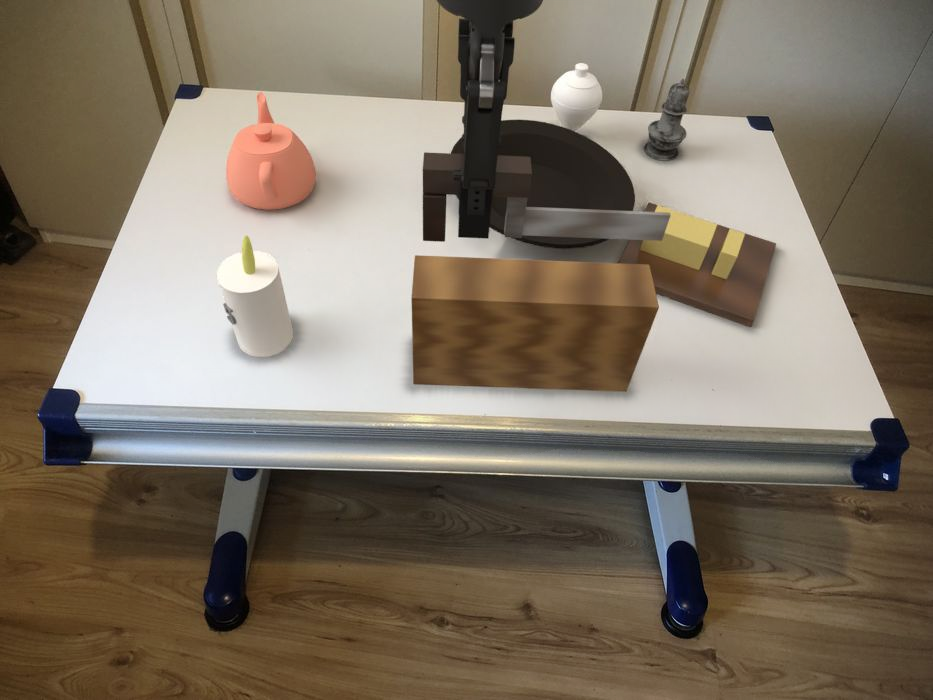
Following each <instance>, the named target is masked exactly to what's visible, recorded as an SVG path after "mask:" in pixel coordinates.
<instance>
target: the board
mask: <svg viewBox="0 0 933 700" xmlns="http://www.w3.org/2000/svg"><path fill="white" fill-rule="evenodd" d="M658 205H659V204H656V203H653V202H647V205H646V206H645V208H644V210H643V212H655V210H656V208H657V206H658ZM673 210H674V211H677V212H680V213H683V212H682V211H678V210H675V209H673ZM683 214H685V213H683ZM704 220H705V219H704ZM705 221H708V222H711V223H714V224H717V227H716V230H715V232H714V235H713V238H712V240H711V243H710V246H709V248H708V250H707V253H706V255H705V257H704V260H703V262H702V264H701V267H700V269H699V270H697V269H694V268H691V267H688V266H685V265H682V264H679V263H676V262H673V261H670V260H668V259H665V258H662V257H659V256H656V255H653V254H650V253H647V252H644V251H641V250H640V247H641V244H642V241H643V240H629V239H628V242H627V244H626V246H625V248H624V250H623V252H622V254H621V256H620V258H619V260H618V262H617V263H620V264H645V265H649V266H650V270H651V275H652V279H653V283H654V287H655V292H656V295H659V296H663V297H665V298H668V299H671V300H674V301H676V302H680V303H682V304H685V305H687V306H690V307H692V308H696V309H699V310H702V311H705V312H707V313H710V314H713V315H715V316H718V317H721V318H724V319H727V320H730V321H732V322H735V323H738V324H741V325H744V326H747V327H749V328H750V327H751V328H752V325H753V324H754V322H755V319H756V317H757V313H758V309H759V306H760V303H761V298H762V295H763V292H764V290H765V289H764V288H765V285H766V281H767V278H768V274H769V271H770V267H771V264H772V260H773V258H774V255H775V254H774V253H775V250H776V247H777V243H776V242H774V241H770V240H768V239H765V238H761V237H758V236H756V235H755V236H754V235H751V234H748V233H745V232H743V231H739V230H736V229H735V230H736V231H739V232H742V233H745V236H744V239H743V242H742V245H741V248H740V251H739V254H738V257H737V259H736V261H735V263H734V265H733V267H732V269H731V271H730V274H729V276H728V278H727V279H723V278H720V277H718V276H715V275H712V271H713V268H714V266H715V263H716V260H717V257H718V255H719V252H720V250H721V247H722V245H723V243H724V241H725V238H726V236H727V234H728V232H729V229H731V228H730V227H727V226H724V225H721V224H719V223H715V222H712V221H709V220H705Z"/></svg>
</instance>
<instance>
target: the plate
mask: <svg viewBox="0 0 933 700" xmlns="http://www.w3.org/2000/svg"><path fill="white" fill-rule="evenodd" d="M500 137H501V143H500V144H501V146H500V147H498V156H521V157H530V159H531V170H532V176H531V183H530V190H529V197H528V198H527V205H526V207H542V208H567V209H591V210H616V211H634V209H635V205H636V204H635V203H636V194H635V193H636V192H635V188H634V185H633V181H632V179H631V177H630V175H629V174H628V172H627V170H626V169H625V167H624V166H623V165H622V164H621V162H619V160H618V159H617V157H615V156H614V155H613V154H612V153H610V152H609V150H607V149H606V148H604V147H603V146H601V144H599V143H598V142H596V141H594V140H593V139H592V138H589V137H588V136H586V135H584V134H581V133H580V132H577V131H572V130H570V129H567V128H564V127H563V126H562V125H559V124H554V123H549V122H545V121H539V120H533V119H532V120H531V119H501V127H500ZM461 149H464V146H463V141H462V136H461V137H460V138H459V139H458V140H457V141H456V142H455V144H454V146H453V147H452V149H451V150H450V153H451V154H461ZM455 196H456V198H457V199H458V200H459V195H455ZM507 199H508V197H494V196H492V205H491V216H490V227H489V229H491V230H493V231H495V232H497V233H498V234H501V235H503V236H504V226H505V217H506V208H507ZM511 239H512V240H514V241H517V242H520V243H524V244H527V245H531V246H532V245H533V246H536V247H540V248H548V249H555V250H557V249H561V250H571V249H583V248H588V247H593V246H596V245H599V244H602V243H604V242H607V241H608V240H610V239H604V238H578V237H552V236H527V235H522V238H511Z"/></svg>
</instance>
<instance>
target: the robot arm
mask: <svg viewBox="0 0 933 700" xmlns="http://www.w3.org/2000/svg"><path fill="white" fill-rule="evenodd" d="M436 2H437V3H438V4H439V5H440V7H441V8H443V9H444V10H445V11H447V12H448V13H450V14H452V15H453V16H456V17H461V18H458V34H457V35H458V36H457V37H458V39H457V41H458V42H457V61H458V63H459V64H460V68H459V69H460V72H459V73H460V79H459V82H460V83H459V96H460V98H461V99H462V100H463V101H464V105H463V107H464V108H463V115H462V117H461V123H462V125H463V133H462V135H461V137H462V141H463V146H464V149H461V154H464V162H463V169H462V170H456V169H454V180H453V181H461V182H460V195H459V199H458V226H457V228H458V230H457V238H461V239H462V238H465V239H489V237H490V216H491V205H492V194H493V190H494V188H495V185H496V178H495V175H496V165H497V156H498V147H500V146H501V144H500V143H501V137H500V127H501V121H502V116H503V111H504V110H503V109H504V103H505V100H506V99H507V95H508V84H509V73H510V67H511V66H512V65H513V63H514V55H515V44H516V43H515V42H516V41H515V39H516V38H515V37H513V35H514V34H513V32H514V22H515V21H516V20H523V19H525V18H528V17H529V16H531V15H533V14H534V13H536V12H537V11H538V10H539V8H540V7H541V6H542V4H543V2H544V0H436Z"/></svg>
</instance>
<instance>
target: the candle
mask: <svg viewBox="0 0 933 700" xmlns="http://www.w3.org/2000/svg"><path fill="white" fill-rule="evenodd" d="M253 249H254V248H253V246H252V242H251V239H250V237H249V236H248V234H245V235H244V236H243V239H242V243H241V251H239V252H236V253H234V254H231V255H230V256H228V257H227V258H225V259H223V261H222V262H221V263H220V264H219V265H218V268H217V269H216V279H217V283H218V287H219V289H220V293H221V296H222V298H223V301H224V303H222V305H223V308H224V312H225V313H226V314H227V316H226V319H227V321H229V322H230V324H231V325H232V328H233V331H234V335H235V337H236V341H237V344H238V347H239V348H240V349H241V350H242V352H244V353H245V354H246V355H249V356H252V357H255V358H270V357H273V356H276V355H278V354H280V353H282V352H283V351H284V350H286V349H287V348H288V347H289V346H290V344H291V343H292V340H293V338H294V330H293V326H292V321H291V315H290V312H289V308H288V307H289V306H288V303H287V299H286V295H285V289H284V285H283V280H282V277H281V273H280V272H281V271H280V268H279V264H278V262H277V260H276V259H275V258H274V257H273V256H272V255H270V254H269V253H267V252H263V251H260V250H253Z"/></svg>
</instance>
